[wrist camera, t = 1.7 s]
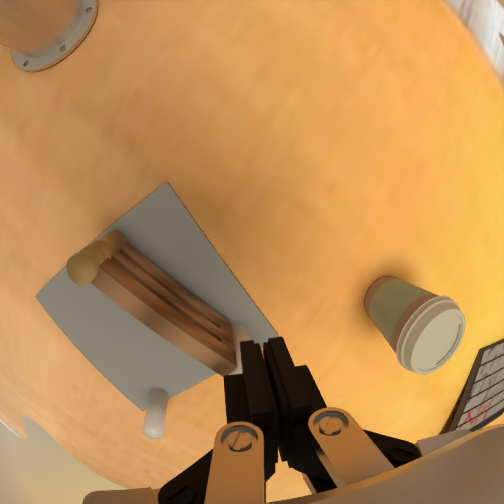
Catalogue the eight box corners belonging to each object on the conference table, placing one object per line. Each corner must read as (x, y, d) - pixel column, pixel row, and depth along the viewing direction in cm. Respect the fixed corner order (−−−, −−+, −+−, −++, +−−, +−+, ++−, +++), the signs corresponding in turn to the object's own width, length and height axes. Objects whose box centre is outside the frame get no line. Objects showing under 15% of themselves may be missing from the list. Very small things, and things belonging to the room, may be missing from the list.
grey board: (37, 294, 29) (-12, 337, 18) (167, 182, 28) (141, 187, 17) (160, 422, 36) (152, 482, 25) (292, 352, 35) (319, 413, 24)
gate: (233, 319, 31) (241, 370, 23) (219, 334, 31) (223, 387, 23) (113, 225, 27) (75, 248, 18) (101, 243, 27) (61, 272, 19)
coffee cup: (370, 338, 36) (417, 391, 24) (343, 294, 33) (395, 347, 22) (416, 298, 35) (473, 339, 24) (395, 251, 33) (461, 285, 21)
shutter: (461, 339, 48) (425, 445, 52) (482, 351, 41) (438, 461, 45) (528, 317, 50) (497, 410, 54) (545, 324, 43) (510, 420, 47)
